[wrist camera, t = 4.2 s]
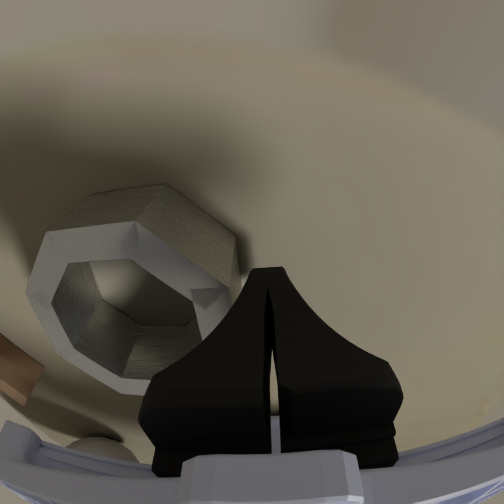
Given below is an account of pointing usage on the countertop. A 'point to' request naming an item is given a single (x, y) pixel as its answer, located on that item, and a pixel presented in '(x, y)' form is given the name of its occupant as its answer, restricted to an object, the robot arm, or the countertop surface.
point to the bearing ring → (148, 257)
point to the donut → (103, 448)
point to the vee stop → (17, 372)
